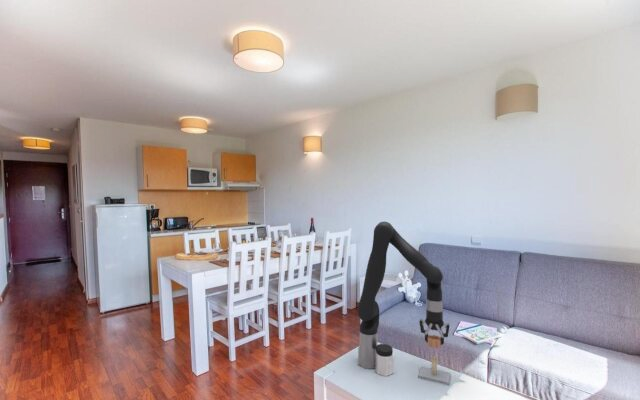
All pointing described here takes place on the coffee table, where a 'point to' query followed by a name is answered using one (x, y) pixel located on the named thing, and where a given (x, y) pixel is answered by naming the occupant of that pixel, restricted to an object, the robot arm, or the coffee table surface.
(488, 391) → the coffee table surface
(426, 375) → the post block
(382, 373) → the jar
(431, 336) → the ring
